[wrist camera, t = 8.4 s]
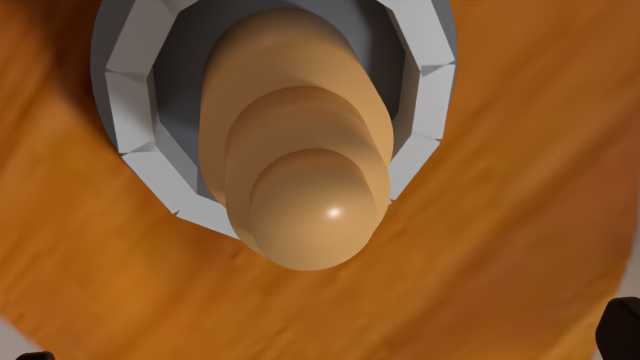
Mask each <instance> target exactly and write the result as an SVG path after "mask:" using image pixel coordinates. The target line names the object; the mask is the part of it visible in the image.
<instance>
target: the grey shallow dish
mask: <svg viewBox="0 0 640 360" xmlns="http://www.w3.org/2000/svg"><path fill="white" fill-rule="evenodd" d="M271 8H295V9H300V10H305V11H308V12H311V13H314V14H316V15H318V16H320V17H322V18H324V19H326V20H327V21H328V22H330V23H331V24H333V25H334V26H335V27H336V28H337V29H338V30H339V31H341V33H342V34H343V35H344V36H345V37H346V39H347V40H348V42H349V43H350V45H351V47H352V48H353V50H354V52H355V54H356V55H357V57H358V59H359V61H360V62H361V64H362V66H363V68H364V69H365V71H366V73H367V75H368V77H369V78H370V80H371V82H372V84H373V85H374V87H375V89H376V91H377V92H378V94H379V96H380V98H381V99H382V101H383V103H384V105H385V107H386V109H387V111H388V114H389V116H390V119H391V123H392V127H393V137H394V142H393V152H392V157H391V161H390V164H389V167H388V173H389V177H390V184H391V193H390V198H391V199H393V200H396V198H397V197H398V196H399V195H400V193H401V192H402V191H403V190H404V188H405V187H406V186H407V184H408V183H409V182H410V181H411V179H412V178H413V177H414V176H415V174H416V173H417V172H418V170H419V169H420V168H421V167H422V165H423V164H424V163H425V162H426V160H427V159H428V158H429V156H430V155H431V154H432V153H433V151H434V150H435V149H436V148H437V146H438V145H439V144H440V141H439V140H438V139H442V137H443V131H444V126H445V120H446V114H447V109H448V106H449V103H450V99H451V95H452V91H453V87H454V83H455V76H456V67H457V36H456V30H455V24H454V17H453V14H452V10H451V7H450V4H449V0H102V1H101V4H100V7H99V10H98V13H97V16H96V19H95V23H94V29H93V35H92V40H91V53H90V72H91V81H92V89H93V94H94V98H95V102H96V106H97V109H98V113H99V116H100V118H101V121H102V123H103V125H104V128H105V130H106V132H107V135H108V136H109V138H110V140H111V141H112V143H113V145H114V146H115V148H116V150H117V151H118V153H119V155H120V156H121V157H122V158H123V160H124V161H125V162H126V163H127V165H128V166H129V167H130V168H131V170H132V171H133V172H134V173H135V174H136V175H137V176H138V177H139V178H140V179H141V180H142V181H143V182H144V183H145V184H146V185H147V186H148V187H149V188H150V189H151V190H152V192H153V193H154V194H155V195H156V196H157V197H158V198H159V199H160V200H161V202H162V203H163V204H164V205H165V206H166V207H167V208H168V209H169V210H170V211H171V213H172V214H173V213H175V212H177V214H176V216H177V217H180V218H183V219H185V220H188V221H191V222H193V223H196V224H199V225H202V226H204V227H207V228H210V229H212V230H215V231H218V232H220V233H223V234H226V235H229V236H231V237H234V238H237V239H239V237H238V236H237V235H236V233H235V232H234V230H233V228H232V226H231V224H230V222H229V219H228V216H227V211H226V208H224V207H223V206H222V205H221V204H220V203H219V202H218V201H217V199H216V198H215V197H214V196H213V194H212V193H211V191H210V190H209V188H208V186H207V184H206V182H205V180H204V178H203V175H202V172H201V168H200V162H199V130H200V108H201V86H202V74H203V68H204V65H205V61H206V58H207V56H208V54H209V52H210V50H211V48H212V46H213V45H214V43H215V42H216V40H217V39H218V38H219V37H220V36H221V34H222V33H223V32H224V31H225V30H227V29H228V28H229V27H230V26H231V25H232V24H234V23H235V22H237V21H238V20H240V19H242V18H244V17H246V16H248V15H250V14H252V13H255V12H258V11H262V10H266V9H271ZM391 203H392V202H391V200H389V204H391ZM239 240H240V239H239Z"/></svg>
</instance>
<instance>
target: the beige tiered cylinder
mask: <svg viewBox="0 0 640 360" xmlns="http://www.w3.org/2000/svg"><path fill="white" fill-rule="evenodd" d="M393 142H394V137H393V127H392V123H391V119H390V116H389V114H388V111H387V109H386V107H385V105H384V103H383V101H382V99H381V98H380V96H379V94H378V92H377V91H376V89H375V87H374V85H373V84H372V82H371V80H370V78H369V77H368V75H367V73H366V71H365V69H364V68H363V66H362V64H361V62H360V61H359V59H358V57H357V55H356V54H355V52H354V50H353V48H352V47H351V45H350V43H349V42H348V40H347V39H346V37H345V36H344V35H343V34H342V33H341V31H339V30H338V29H337V28H336V27H335V26H334V25H333V24H331V23H330V22H328V21H327V20H326V19H324V18H322V17H320V16H318V15H316V14H314V13H311V12H308V11H305V10H300V9H295V8H271V9H266V10H262V11H258V12H255V13H252V14H250V15H248V16H246V17H244V18H242V19H240V20H238V21H237V22H235V23H234V24H232V25H231V26H230V27H229V28H228V29H227V30H225V31H224V32H223V33H222V34H221V36H220V37H219V38H218V39H217V40H216V42H215V43H214V45H213V46H212V48H211V50H210V52H209V54H208V56H207V58H206V61H205V65H204V68H203V74H202V86H201V108H200V130H199V162H200V168H201V172H202V175H203V178H204V180H205V182H206V184H207V186H208V188H209V190H210V191H211V193H212V194H213V196H214V197H215V198H216V199H217V201H218V202H219V203H220V204H221V205H222V206H223V207H224V208H226V211H227V216H228V219H229V222H230V224H231V226H232V228H233V230H234V232H235V233H236V235H237V236H238V237H239V239H240V240H241V241H242V242H243V243H244V244H245V245H247V246H248V247H249V248H250V249H252V250H253V251H255V252H257V253H258V254H260V255H262V256H265V257H267V258H268V259H270V260H271V261H273V262H274V263H276V264H278V265H280V266H283V267H286V268H289V269H294V270H301V271H314V270H321V269H326V268H330V267H333V266H336V265H338V264H340V263H343V262H344V261H346V260H348V259H350V258H351V257H353V256H354V255H355V254H357V253H358V252H359V251H360V250H361V249H362V248H363V247H364V246H365V245H366V243H367V242H368V240H369V239H370V237H371V236H372V234H373V232H374V230H375V229H376V228H377V227H378V225H379V224H380V222H381V221H382V219H383V217H384V215H385V213H386V210H387V207H388V205H389V200H390V193H391V184H390V177H389V173H388V167H389V164H390V161H391V157H392V152H393Z"/></svg>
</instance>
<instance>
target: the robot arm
mask: <svg viewBox="0 0 640 360" xmlns="http://www.w3.org/2000/svg"><path fill="white" fill-rule="evenodd" d="M595 338H596V343H597V346H598V349H599V351H600V353H601V356H602V358H603V360H640V299H639V298H637V297H621V298H614V299H612V300H610V301H609V302H608V304H607V306H606V308H605V311H604V313H603V315H602V317H601V320H600V322H599V324H598V326H597V329H596V333H595ZM16 360H55V357H54V355H53V354H52V353H51V352H48V351H43V352H33V353H25V354H22V355H20V356H19V357H18V358H17V359H16Z"/></svg>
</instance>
